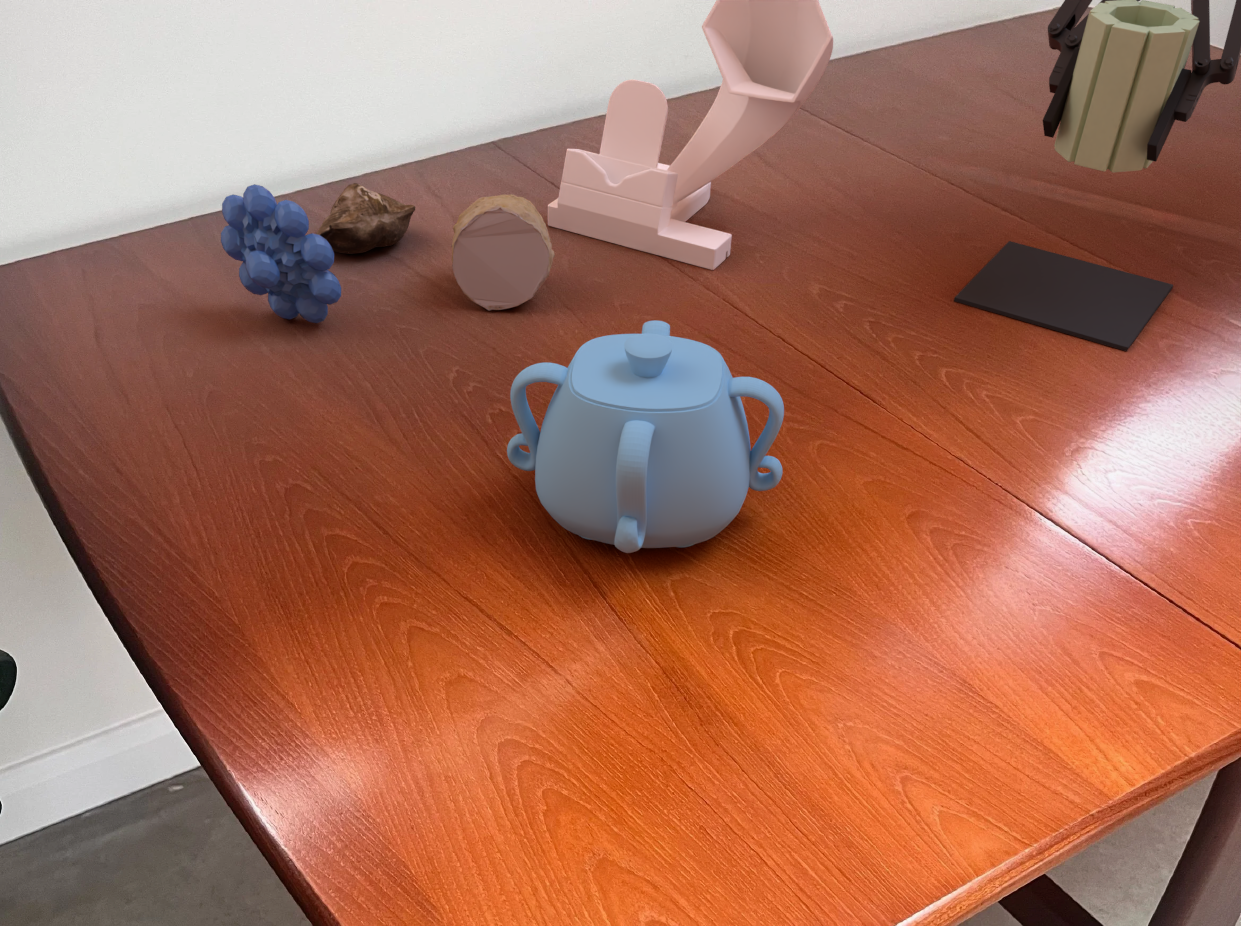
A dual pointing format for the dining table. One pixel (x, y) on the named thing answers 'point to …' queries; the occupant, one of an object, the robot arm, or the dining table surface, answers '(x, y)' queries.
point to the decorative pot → (645, 440)
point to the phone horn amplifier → (733, 128)
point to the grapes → (280, 254)
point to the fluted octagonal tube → (1123, 82)
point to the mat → (1066, 295)
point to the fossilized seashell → (364, 221)
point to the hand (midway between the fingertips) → (1098, 140)
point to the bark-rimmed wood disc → (501, 251)
